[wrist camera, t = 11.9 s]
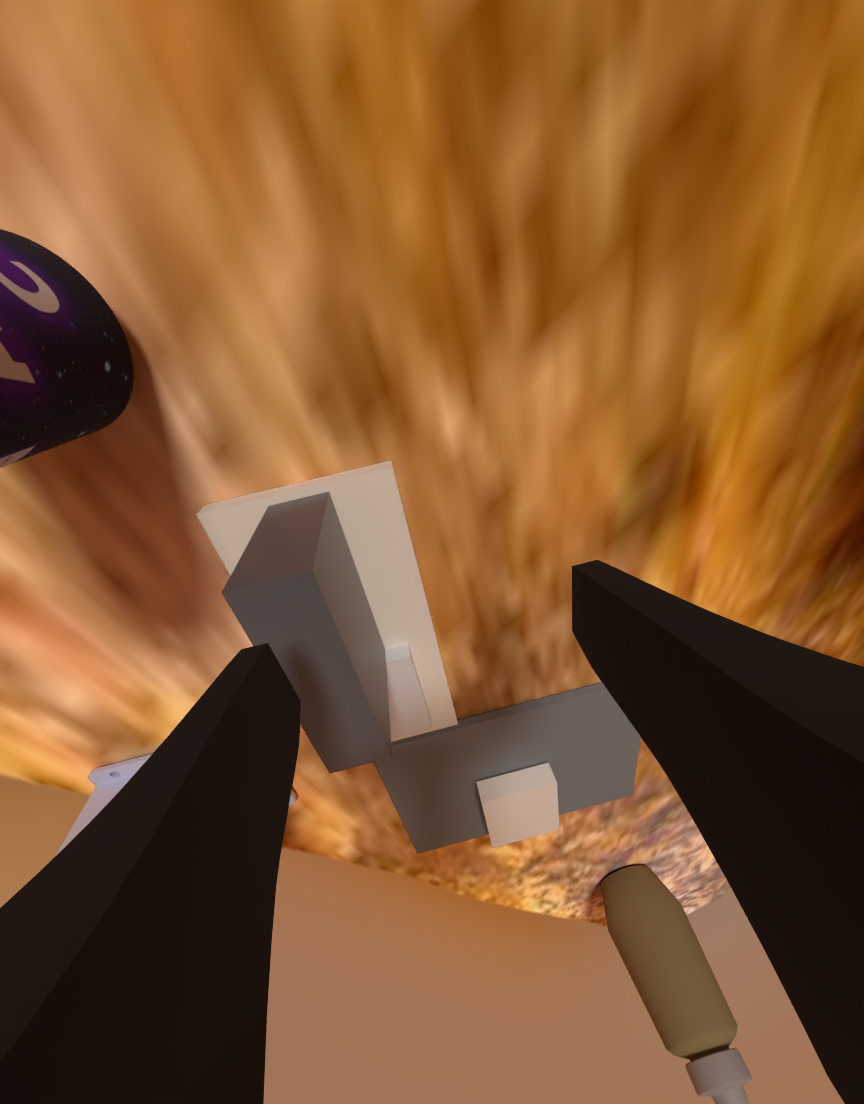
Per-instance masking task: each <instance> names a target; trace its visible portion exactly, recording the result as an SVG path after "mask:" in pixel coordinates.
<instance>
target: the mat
mask: <svg viewBox="0 0 864 1104" xmlns="http://www.w3.org/2000/svg"><path fill="white" fill-rule="evenodd" d="M457 722H458V724H457V725H454V726H450V727H446V728H442V729H438V730H435V731H431V732H427V733H423V734H419V735H416V736H412V737H408V738H404V739H400V740H397V741H393V742H391V746H392V757H390V758H386V759H382V760H379V761H375V762H374V763H375V766H376V768H377V770H378V772H379V774H380V776H381V778H382V780H383V782H384V784H385V786H386V789H387V791H388V793H389V795H390V797H391V799H392V801H393V803H394V805H395V807H396V810H397V812H398V814H399V816H400V818H401V820H402V822H403V824H404V826H405V828H406V830H407V833H408V835H409V837H410V839H411V841H412V843H413V845H414V847H415V849H416V851H417V854H418V853H422V852H426V851H429V850H433V849H437V848H440V847H444V846H448V845H451V844H455V843H459V842H462V841H466V840H469V839H473V838H477V837H480V836H484V835H488V834H489V831H488V827H487V823H486V819H485V815H484V811H483V807H482V803H481V799H480V795H479V791H478V787H477V783H476V782H478V781H481V780H485V779H489V778H493V777H496V776H500V775H504V774H507V773H511V772H515V771H519V770H522V769H526V768H530V767H533V766H537V765H541V764H545V763H549V765H550V767H551V770H552V772H553V774H554V777H555V779H556V781H557V791H558V812H559V815H561V814H565V813H568V812H572V811H576V810H579V809H583V808H587V807H590V806H594V805H597V804H601V803H605V802H608V801H612V800H616V799H619V798H623V797H627V796H630V795H632V793H633V786H634V779H635V773H636V766H637V759H638V752H639V745H640V738H641V736H640V735H639V734H638V732H637V731H636V729H635V728H634V727H633V725H632V724H631V722H630V721H629V720H628V718H627V717H626V715H625V714H624V713H623V711H622V710H621V708H620V707H619V706H618V704H617V703H616V701H615V700H614V699H613V697H612V696H611V694H610V693H609V691H608V690H607V689H606V687H605V686H604V684H603V683H602V682H601V683H598V684H594V685H590V686H586V687H582V688H578V689H575V690H571V691H567V692H563V693H559V694H556V695H552V696H548V697H544V698H540V699H537V700H533V701H529V702H525V703H521V704H518V705H514V706H510V707H506V708H502V709H499V710H495V711H491V712H487V713H483V714H479V715H476V716H472V717H468V718H464V719H460V720H457Z"/></svg>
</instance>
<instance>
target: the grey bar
mask: <svg viewBox="0 0 864 1104" xmlns="http://www.w3.org/2000/svg"><path fill="white" fill-rule="evenodd" d="M222 594H223V596H224V597H225V599H226V601H227V602H228V604H229V606H230V607H231V609H232V611H233V612H234V614H235V616H236V617H237V619H238V621H239V622H240V624H241V626H242V627H243V629H244V631H245V633H246V634H247V636H248V638H249V639H250V641H251V643H252V644H253V646H257V645H261V644H265V643H268V644H269V646H270V648H271V649H272V651H273V653H274V655H275V656H276V658H277V660H278V662H279V663H280V665H281V667H282V669H283V670H284V672H285V674H286V676H287V677H288V679H289V681H290V683H291V685H292V686H293V688H294V690H295V692H296V693H297V695H298V697H299V699H300V700H301V711H300V724H301V726H302V728H303V729H304V731H305V733H306V734H307V736H308V738H309V740H310V741H311V743H312V745H313V746H314V748H315V750H316V751H317V753H318V755H319V756H320V758H321V760H322V761H323V763H324V765H325V766H326V768H327V770H328V771H329V773H333V772H337V771H341V770H345V769H348V768H352V767H356V766H360V765H363V764H367V763H371V762H375V761H379V760H382V759H386V758H390V757H392V746H391V739H395V738H398V737H402V736H406V735H410V734H414V733H417V732H421V731H425V730H429V729H433V728H432V722H431V716H430V712H429V709H428V705H427V702H426V699H425V696H424V692H423V689H422V686H421V683H420V679H419V676H418V673H417V670H416V666H415V663H414V660H413V657H412V654H411V650H410V647H409V644H408V643H406V644H402V645H398V646H394V647H390V648H386V649H385V647H384V644H383V642H382V639H381V636H380V633H379V630H378V628H377V625H376V622H375V619H374V616H373V614H372V611H371V608H370V605H369V602H368V599H367V597H366V594H365V591H364V588H363V585H362V583H361V580H360V577H359V574H358V571H357V568H356V566H355V563H354V560H353V557H352V554H351V552H350V549H349V546H348V543H347V540H346V538H345V535H344V532H343V529H342V526H341V523H340V521H339V518H338V515H337V512H336V509H335V507H334V504H333V501H332V498H331V495H330V493H329V492H325V493H320V494H316V495H312V496H308V497H304V498H300V499H295V500H291V501H287V502H283V503H279V504H275V505H270V506H268V508H267V509H266V511H265V513H264V515H263V517H262V519H261V521H260V522H259V524H258V526H257V528H256V530H255V532H254V534H253V535H252V537H251V539H250V541H249V543H248V545H247V546H246V548H245V550H244V552H243V554H242V556H241V558H240V559H239V561H238V563H237V565H236V567H235V569H234V571H233V572H232V574H231V576H230V578H229V580H228V582H227V584H226V585H225V587H224V589H223V591H222Z"/></svg>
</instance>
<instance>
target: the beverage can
mask: <svg viewBox="0 0 864 1104" xmlns="http://www.w3.org/2000/svg"><path fill="white" fill-rule="evenodd" d="M133 378H134V372H133V362H132V356H131V352H130V348H129V345H128V342H127V339H126V337H125V334H124V332H123V330H122V328H121V326H120V324H119V322H118V320H117V318H116V316H115V315H114V313H113V312H112V310H111V309H110V307H109V306H108V304H107V303H106V301H105V300H104V299H103V298H102V296H101V295H100V294H99V293H98V291H97V290H96V289H95V288H94V287H93V286H92V285H91V284H90V283H89V282H88V281H87V280H86V279H85V278H84V277H83V276H82V275H81V274H80V273H79V272H78V271H77V270H76V269H74V268H73V267H72V266H71V265H70V264H68V263H67V262H66V261H64V260H63V259H62V258H60V257H59V256H57V255H56V254H54V253H53V252H51V251H50V250H48V249H46V248H45V247H43V246H41V245H39V244H37V243H35V242H33V241H31V240H29V239H27V238H25V237H22V236H20V235H17V234H14V233H12V232H8V231H5V230H1V229H0V468H1V467H3V466H6V465H9V464H11V463H14V462H17V461H19V460H22V459H24V458H27V457H30V456H32V455H35V454H38V453H40V452H43V451H45V450H48V449H51V448H53V447H56V446H59V445H61V444H64V443H66V442H69V441H72V440H74V439H77V438H80V437H82V436H85V435H87V434H90V433H93V432H95V431H98V430H100V429H102V428H104V427H106V426H108V425H109V424H111V423H112V422H113V421H114V420H115V419H117V418H118V417H119V415H120V414H121V413H122V412H123V410H124V409H125V407H126V405H127V403H128V401H129V399H130V396H131V392H132V387H133Z"/></svg>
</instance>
